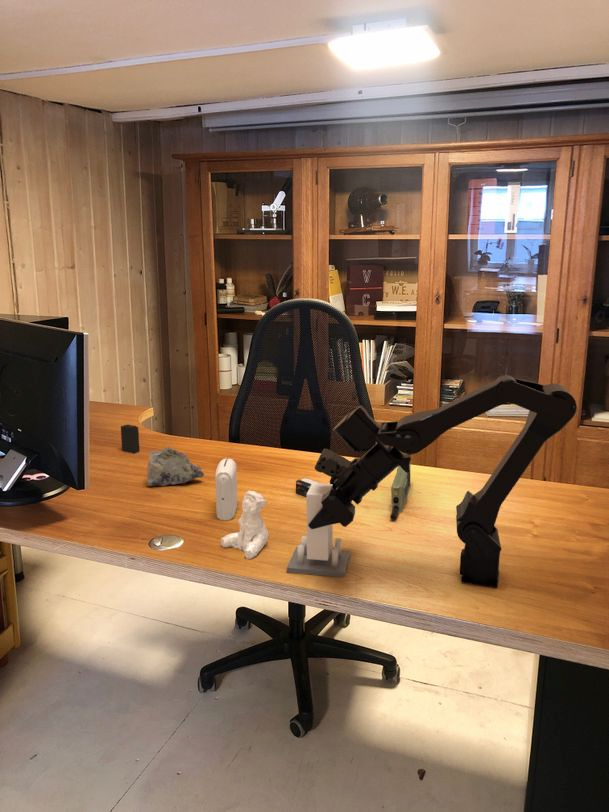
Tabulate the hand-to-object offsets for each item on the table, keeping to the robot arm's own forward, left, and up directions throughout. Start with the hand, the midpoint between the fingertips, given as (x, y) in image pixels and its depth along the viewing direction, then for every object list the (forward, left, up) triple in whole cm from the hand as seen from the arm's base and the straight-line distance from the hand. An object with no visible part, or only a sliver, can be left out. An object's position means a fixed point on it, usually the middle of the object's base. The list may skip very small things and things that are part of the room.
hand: (312, 520), depth 127 cm
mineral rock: (+48, -31, -9) cm, 57 cm away
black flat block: (+10, -34, -10) cm, 37 cm away
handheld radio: (-10, -37, -9) cm, 39 cm away
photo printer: (+27, -18, -9) cm, 34 cm away
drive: (-1, 0, -7) cm, 7 cm away
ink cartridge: (+74, -51, -9) cm, 90 cm away
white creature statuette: (+15, -3, -9) cm, 18 cm away
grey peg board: (-1, 0, -9) cm, 9 cm away
